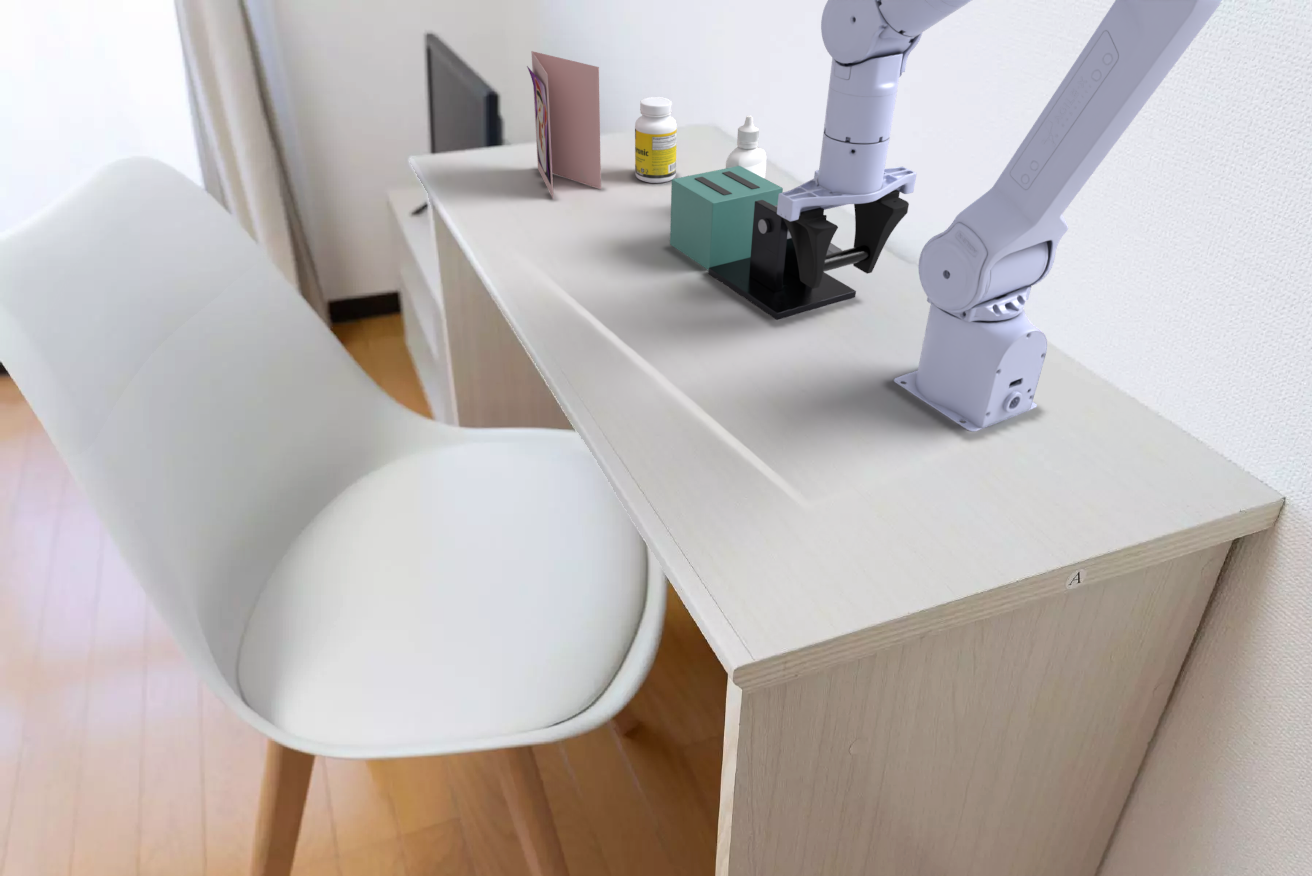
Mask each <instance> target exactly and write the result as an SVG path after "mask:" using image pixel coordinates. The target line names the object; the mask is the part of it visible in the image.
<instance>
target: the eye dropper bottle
mask: <svg viewBox="0 0 1312 876" xmlns="http://www.w3.org/2000/svg"><path fill="white" fill-rule="evenodd" d="M736 137H737V139H736V147H735V148H734V149H733V150H732V151H731V152H730V153H729V155H728V156H727V158H726V161H725V169H726V168H731V167H736V166H741V167H743V168H745V169H747V170H749V171H751V172H753V173H755V174H757V175H759V176H761V177H763V178H764V179H766V172H767V171H766V169H767V153H766V150H765V149H763V148H761V147H760V146H759V139H760V138H759V137H760V128H759V127H757V126H755V125H754V117H753V115H746V116H745V120H744V124H743V125H741V126H739V127H738V128H737V136H736Z"/></svg>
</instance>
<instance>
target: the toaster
mask: <svg viewBox="0 0 1312 876" xmlns="http://www.w3.org/2000/svg"><path fill="white" fill-rule="evenodd" d="M670 186H671V189H670V193H671V194H670V196H671V197H670V226H669V227H670V228H669V229H670V231H669V232H670V233H669V245H670V246H672V247H673V248H675V249H676V250H678V251H679V252H681V253H682V254H684V255H685V256H687V257H688V258H690V259H691V260H692V261H694V262H695V263H697V264H698V265H700V266H701V267H703V268H705V269H706V270H707V271H709V267H713V266H717V265H721V264H725V263H729V262H733V261H737V260H741V259H745V258H749V257H751V245H752V231H753V218H754V205H755V201H758V200H764V201H766V202H768V203H770V204H772V205H774V206H775V205H778V196H779V193H783V192H784V188H783V187H782V186H780V185H778V184H776V183H774V182H773V181H770V180H768V179H767V178H765V179H764V178H763V177H761V176H759V175H757V174H755V173H753V172H751V171H749V170H747V169H745V168H743V167H741V166H736V167H731V168H726V167H725V168H721V169H716V170H711V171H706V172H701V173H700V172H699V173H696V174H691V175H687V176H686V175H685V176H680V177H674V178H673V179H672V180H671V185H670Z"/></svg>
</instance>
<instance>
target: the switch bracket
mask: <svg viewBox="0 0 1312 876" xmlns="http://www.w3.org/2000/svg"><path fill="white" fill-rule="evenodd" d="M787 234H788V227H787V225H786V223H785V221H784V219H783V217H781V216H780V215H778V214H777V207H775V206H774V205H772V204H770V203H768V202H766V201H764V200H758V201H755V205H754V218H753V231H752V245H751V257H749V258H745V259H741V260H737V261H733V262H729V263H725V264H721V265H717V266H713V267H709V270H707V272H708V275H710V276H711V277H712V278H714V279H715V280H717V281H718V282H720V283H721V284H723V285H724V286H726V287H727V288H729V289H730V290H732V291H733V292H735V294H737V295H738V296H741V297H742V298H743V299H745V300H746V301H748V302H749V303H751V304H752V305H753V306H754V307H755V306H756V307H757V308H758V309H760V310H761V311H763V312H764V313H766V314H767V315H768V316H770V317H771V318H773V319H774V320H776V321H778V320H781V319H785V318H788V317H792V316H796V315H799V314H803V313H807V312H809V311H813V310H816V309H819V308H823V307H826V306H831V305H834V304H837V303H841V302H843V301H848V300H851V299H854V298H856V296H857V295H856V294H857V290H855V289H854V288H852V287H850V286H849V285H847V284H845V283H843V282H841V281H840V280H838V279H836V278H835V277H834V276H831V275H830V274H828V273H826V271H824V272H823V275H822V280H821V283H820V285H819V287H818V288H814V289H813V288H811V287H809V286H808V285H806V284H804V283H803V282H801V281H800V275H799V268H798V261H797V256H796V251H795V247H794V244H793V240H792V238H790V239H787Z"/></svg>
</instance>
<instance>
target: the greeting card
mask: <svg viewBox="0 0 1312 876" xmlns="http://www.w3.org/2000/svg"><path fill="white" fill-rule="evenodd" d="M526 68H527V70H528V72H529V75H530V78H531V82H532V88H533V105H534V123H535V138H536V139H535V142H536V159H537V161H536V162H537V170H538V172H539V174H540V176H541V178H542V179H543V182H544V183H545V186H546V187H547V190H548V191H549V192H548V193H550V196H551V198H552V199H554V179H553V174H554V175H556V176H559V177H562V178H565V179H569V180H570V181H571V180H572V181H575V182H577V183H580V184H584V185H587V186H589V187H593V188H596V189H598V190H601V189H602V168H601V167H602V166H601V165H602V163H601V162H602V159H601V111H600V107H601V106H600V104H601V103H600V67H599V66H596V65H592V64H588V63H584V62H580V61H575V60H571V59H566V58H562V57H559V56H554V55H550V54H546V53H542V52H538V51H533V50H531V69H532V70H531V69H530V68H529V66H528V65H527V66H526Z"/></svg>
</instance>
